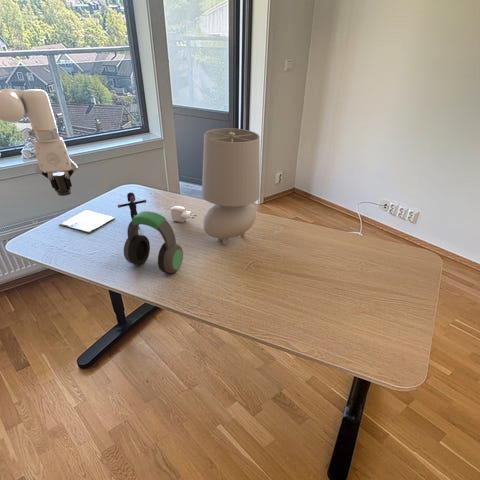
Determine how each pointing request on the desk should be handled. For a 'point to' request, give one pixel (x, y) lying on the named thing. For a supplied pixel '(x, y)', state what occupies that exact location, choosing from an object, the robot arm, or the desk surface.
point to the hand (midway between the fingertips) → (63, 188)
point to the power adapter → (180, 214)
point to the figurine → (132, 204)
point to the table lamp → (230, 181)
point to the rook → (61, 184)
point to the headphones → (140, 246)
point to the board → (87, 221)
